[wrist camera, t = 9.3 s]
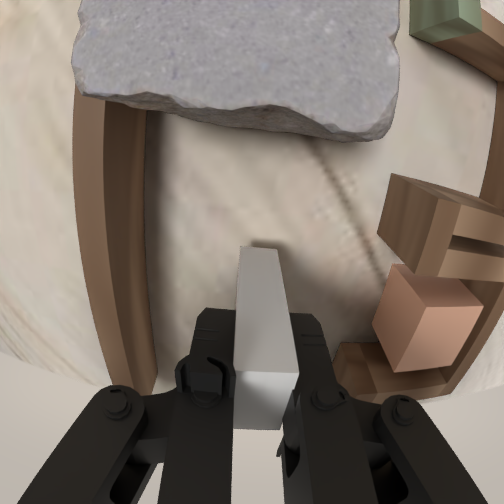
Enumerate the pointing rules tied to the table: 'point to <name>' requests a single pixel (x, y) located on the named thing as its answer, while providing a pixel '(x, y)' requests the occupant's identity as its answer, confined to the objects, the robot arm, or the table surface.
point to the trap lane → (390, 230)
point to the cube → (423, 319)
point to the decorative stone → (247, 62)
